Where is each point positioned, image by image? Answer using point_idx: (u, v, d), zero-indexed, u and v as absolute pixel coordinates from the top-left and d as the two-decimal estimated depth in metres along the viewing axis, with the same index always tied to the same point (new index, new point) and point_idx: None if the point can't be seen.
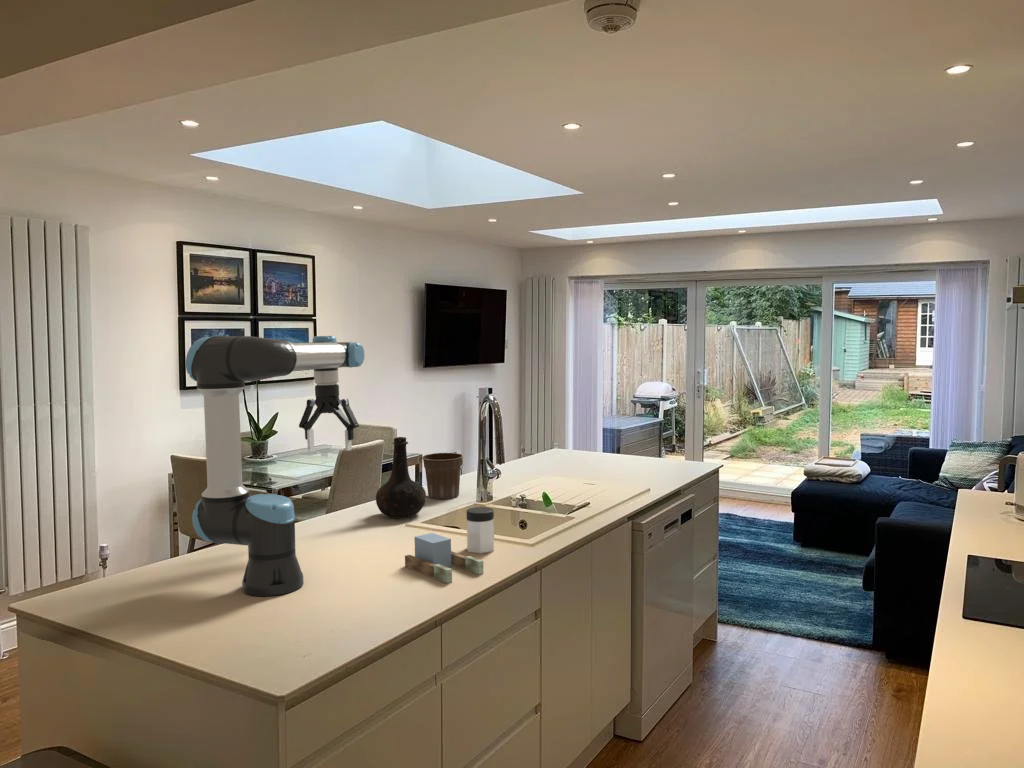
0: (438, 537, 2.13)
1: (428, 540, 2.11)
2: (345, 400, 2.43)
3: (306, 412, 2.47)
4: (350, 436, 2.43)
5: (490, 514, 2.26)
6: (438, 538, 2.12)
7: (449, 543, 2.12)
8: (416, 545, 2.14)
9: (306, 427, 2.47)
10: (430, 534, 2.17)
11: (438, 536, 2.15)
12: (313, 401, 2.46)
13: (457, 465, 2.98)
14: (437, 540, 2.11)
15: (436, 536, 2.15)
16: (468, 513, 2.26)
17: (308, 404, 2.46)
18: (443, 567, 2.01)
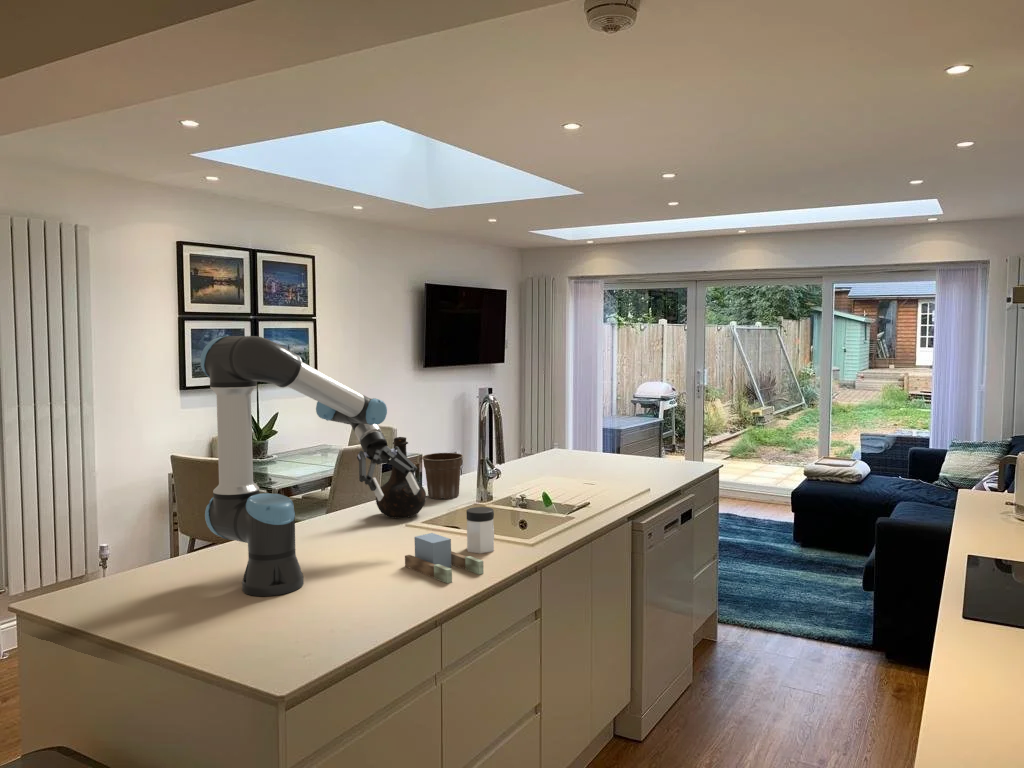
0: (438, 537, 2.13)
1: (428, 540, 2.11)
2: None
3: (364, 462, 2.26)
4: (415, 478, 2.32)
5: (490, 514, 2.26)
6: (438, 538, 2.12)
7: (449, 543, 2.12)
8: (416, 545, 2.14)
9: (371, 475, 2.24)
10: (430, 534, 2.17)
11: (438, 536, 2.15)
12: (364, 453, 2.30)
13: (457, 465, 2.98)
14: (437, 540, 2.11)
15: (436, 536, 2.15)
16: (468, 513, 2.26)
17: (363, 454, 2.28)
18: (443, 567, 2.01)
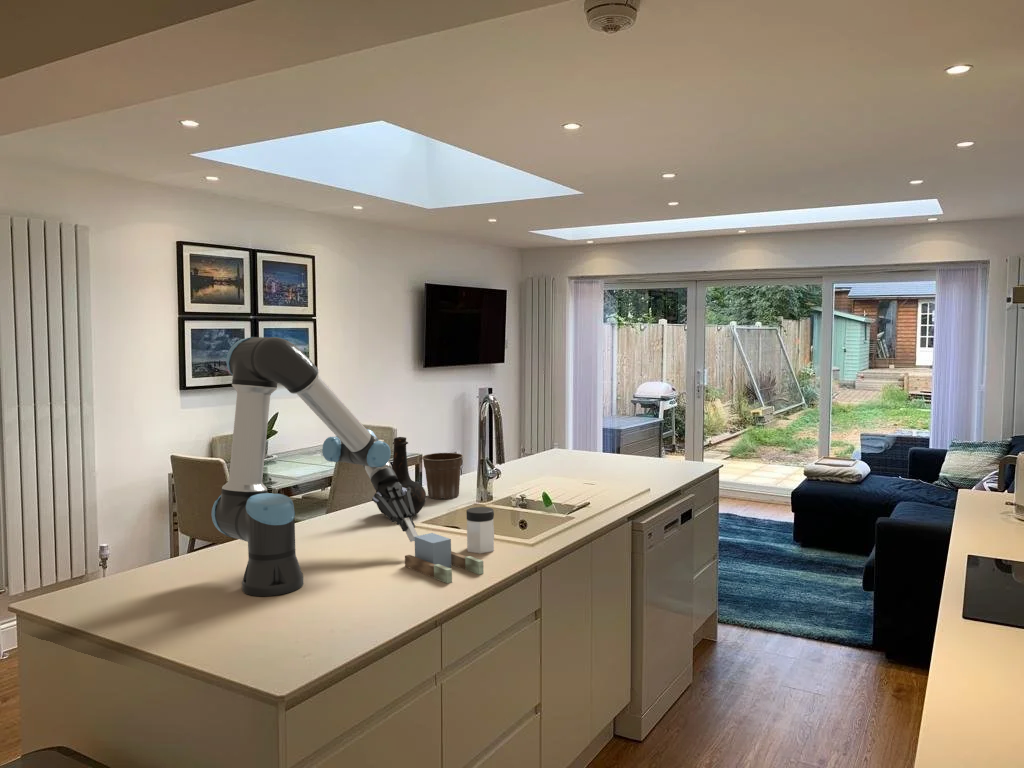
0: (438, 537, 2.13)
1: (428, 540, 2.11)
2: None
3: (385, 503, 2.24)
4: (413, 523, 2.25)
5: (490, 514, 2.26)
6: (438, 538, 2.12)
7: (449, 543, 2.12)
8: (416, 545, 2.14)
9: (401, 515, 2.24)
10: (430, 534, 2.17)
11: (438, 536, 2.15)
12: (377, 493, 2.27)
13: (457, 465, 2.98)
14: (437, 540, 2.11)
15: (436, 536, 2.15)
16: (468, 513, 2.26)
17: (379, 496, 2.25)
18: (443, 567, 2.01)
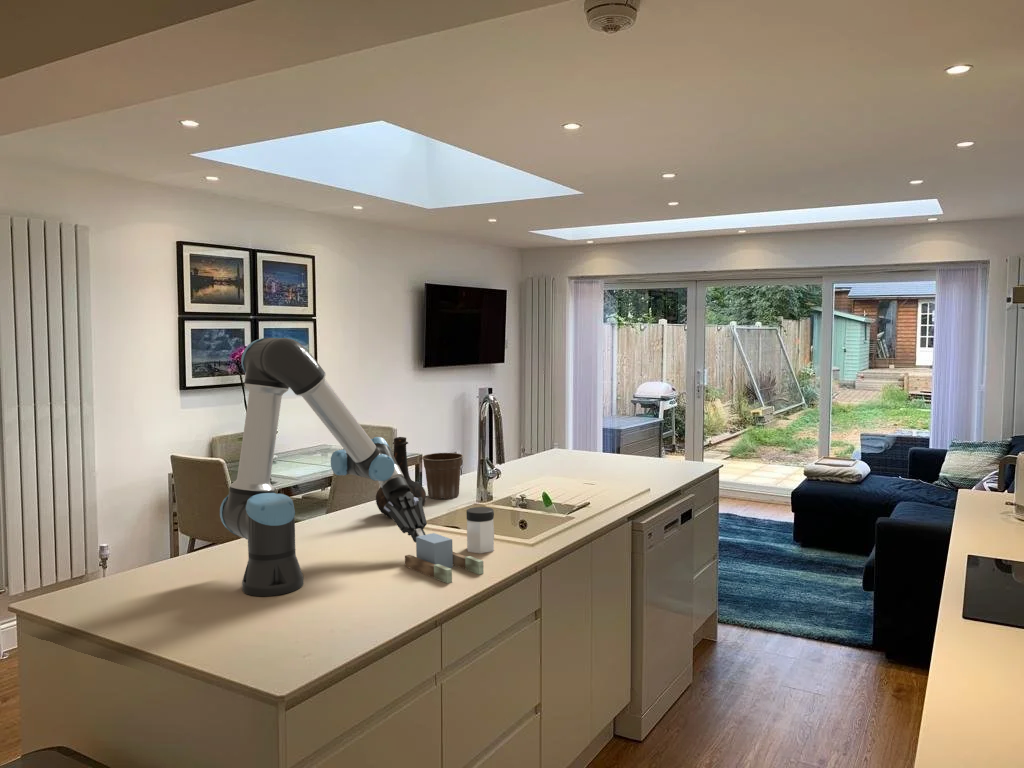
0: (440, 538, 2.13)
1: (429, 540, 2.10)
2: None
3: (397, 513, 2.21)
4: (424, 534, 2.21)
5: (490, 514, 2.26)
6: (439, 538, 2.12)
7: (451, 543, 2.11)
8: (417, 545, 2.14)
9: (413, 526, 2.20)
10: (432, 534, 2.16)
11: (440, 536, 2.14)
12: (389, 503, 2.23)
13: (457, 465, 2.98)
14: (438, 540, 2.10)
15: (437, 536, 2.14)
16: (468, 513, 2.26)
17: (391, 506, 2.21)
18: (443, 567, 2.01)
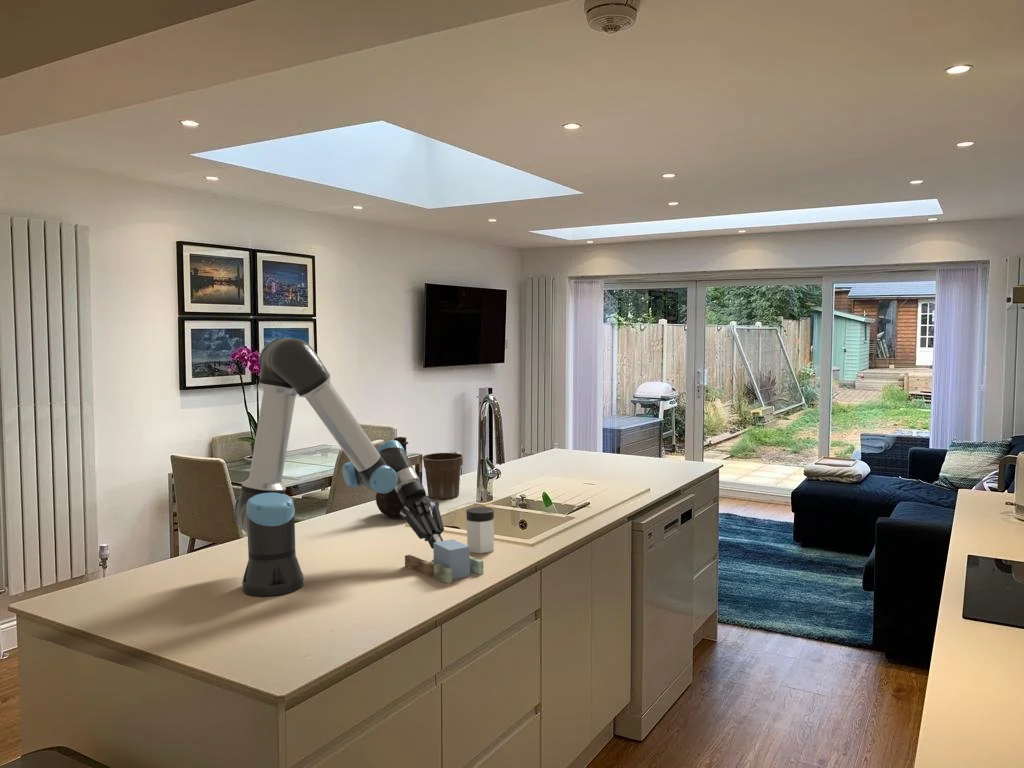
0: (457, 544, 2.06)
1: (446, 547, 2.04)
2: None
3: (414, 518, 2.14)
4: (442, 540, 2.14)
5: (490, 514, 2.26)
6: (457, 545, 2.05)
7: (468, 550, 2.04)
8: (435, 551, 2.07)
9: (430, 532, 2.14)
10: (450, 540, 2.10)
11: (457, 543, 2.07)
12: (405, 508, 2.16)
13: (457, 465, 2.98)
14: (455, 547, 2.03)
15: (455, 543, 2.07)
16: (468, 513, 2.26)
17: (407, 511, 2.15)
18: (443, 567, 2.01)
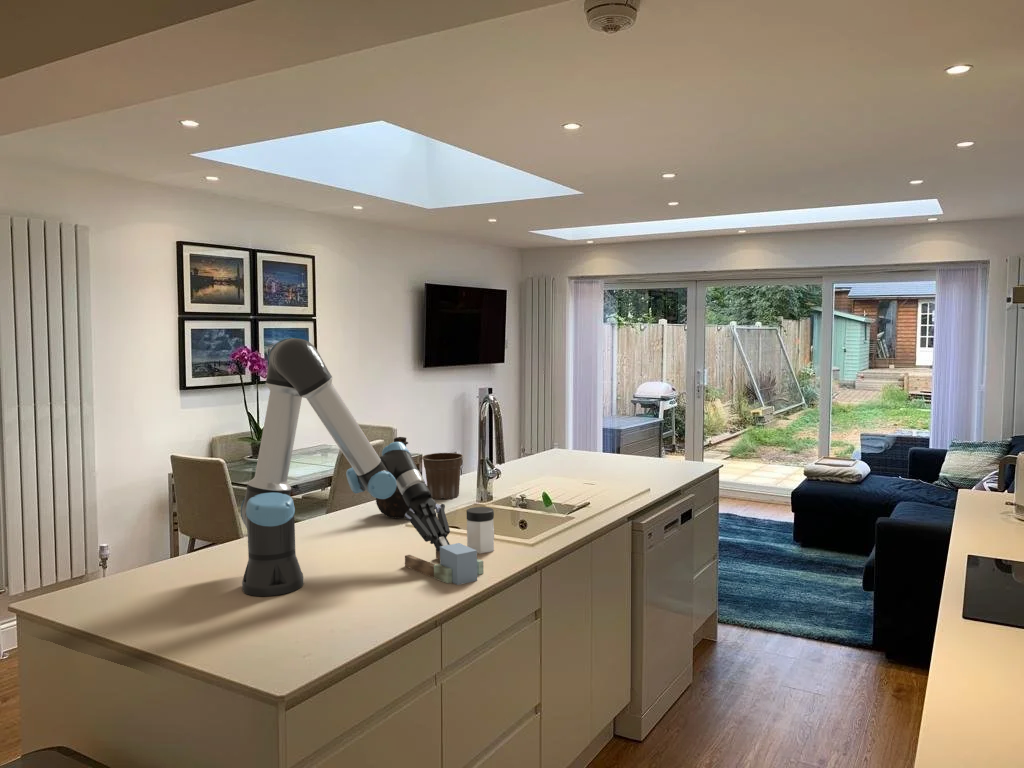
0: (464, 548, 2.02)
1: (453, 551, 2.00)
2: None
3: (419, 520, 2.10)
4: (448, 543, 2.10)
5: (490, 514, 2.26)
6: (464, 549, 2.01)
7: (475, 554, 2.00)
8: (441, 556, 2.04)
9: (436, 534, 2.10)
10: (456, 544, 2.06)
11: (464, 547, 2.03)
12: (410, 510, 2.13)
13: (457, 465, 2.98)
14: (462, 551, 1.99)
15: (462, 546, 2.04)
16: (468, 513, 2.26)
17: (412, 513, 2.11)
18: (443, 567, 2.01)
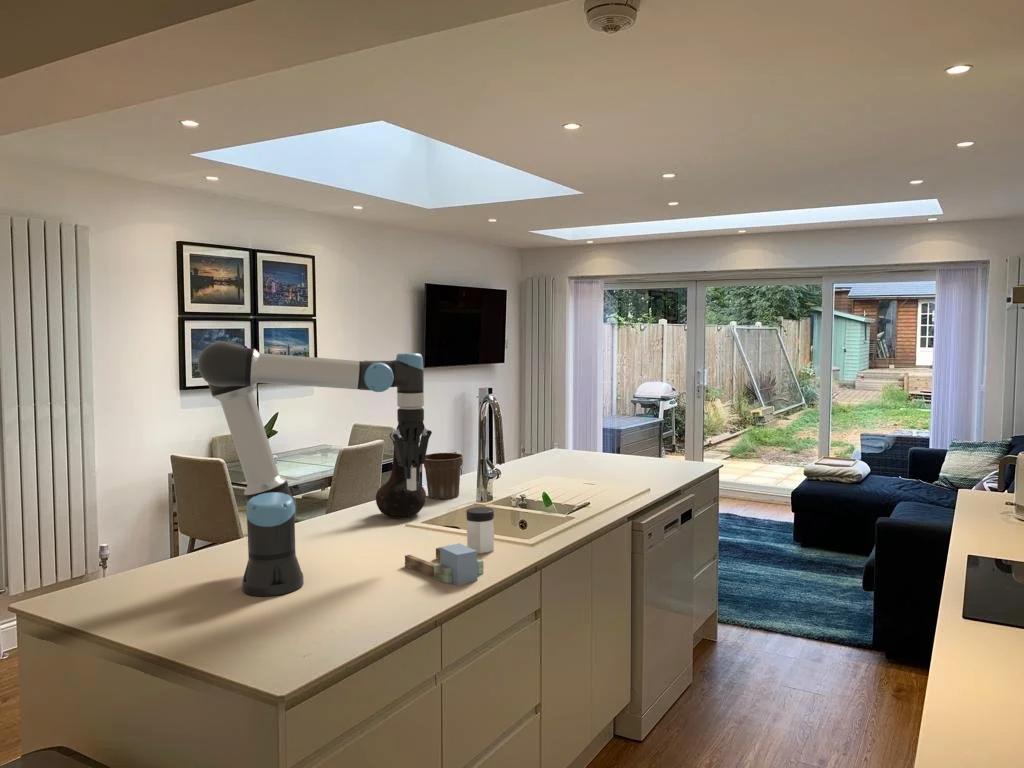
0: (464, 549, 2.02)
1: (453, 551, 2.00)
2: None
3: (400, 447, 2.15)
4: (417, 473, 2.19)
5: (490, 514, 2.26)
6: (464, 550, 2.01)
7: (475, 555, 2.00)
8: (441, 556, 2.04)
9: (410, 464, 2.17)
10: (457, 545, 2.06)
11: (464, 547, 2.03)
12: (397, 432, 2.14)
13: (457, 465, 2.98)
14: (462, 552, 1.99)
15: (462, 547, 2.04)
16: (468, 513, 2.26)
17: (397, 438, 2.14)
18: (443, 567, 2.01)
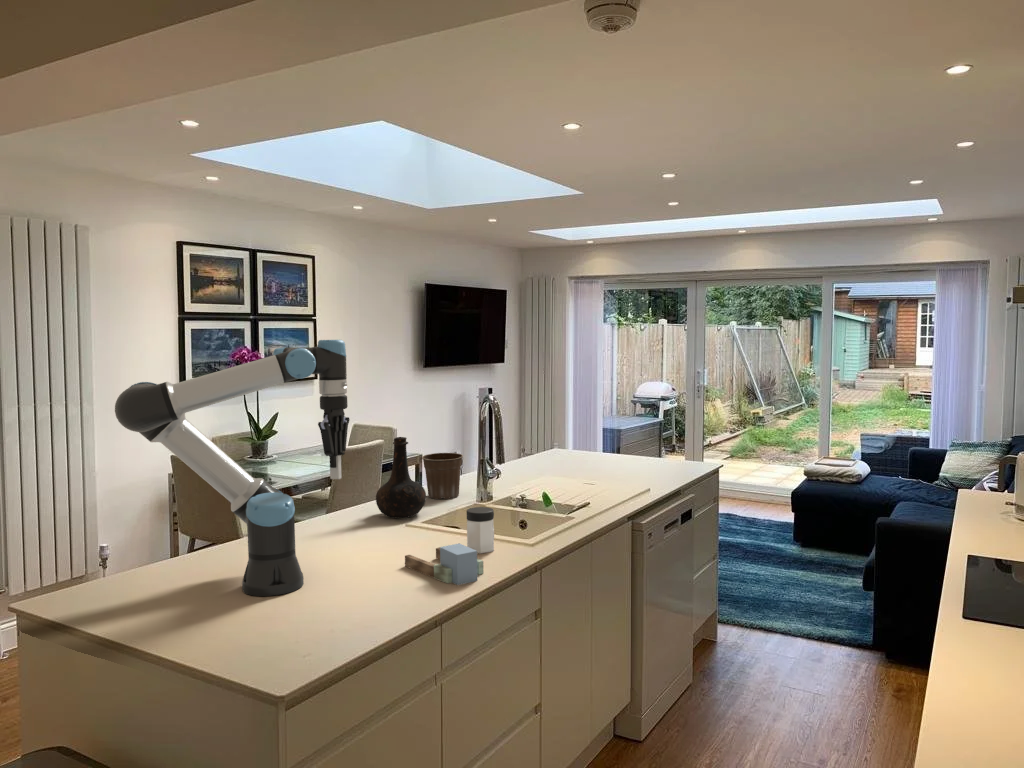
0: (464, 549, 2.02)
1: (453, 551, 2.00)
2: (320, 425, 2.08)
3: None
4: None
5: (490, 514, 2.26)
6: (464, 550, 2.01)
7: (475, 555, 2.00)
8: (441, 556, 2.04)
9: None
10: (457, 545, 2.06)
11: (464, 547, 2.03)
12: None
13: (457, 465, 2.98)
14: (462, 552, 1.99)
15: (462, 547, 2.04)
16: (468, 513, 2.26)
17: None
18: (443, 567, 2.01)
